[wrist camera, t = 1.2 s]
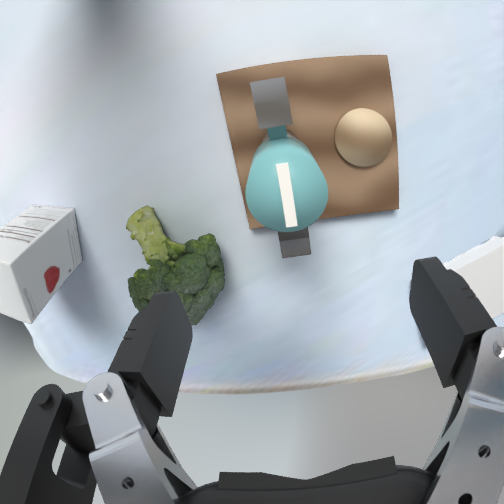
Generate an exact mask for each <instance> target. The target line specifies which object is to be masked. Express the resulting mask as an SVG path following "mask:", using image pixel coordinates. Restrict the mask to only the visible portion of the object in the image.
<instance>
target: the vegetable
mask: <svg viewBox="0 0 504 504" xmlns="http://www.w3.org/2000/svg"><path fill="white" fill-rule="evenodd" d="M153 210H154V208H151V207H149V206H145V207H142V208H141V209H139V210H138V211H136V212H135V213H134V214H133V215H132V216H131V217H130V218H129V220H128V222H127V225H126V229H128V230H129V231H130V232H131V239H133V240H134V239H136V240H137V241H138V242H139V244H140V245H141V247H142V249H143V252H142V254H144V256H145V260H146V261H147V262H148V263H147V264H149V265H150V267H149V269H148V270H145V269H138V270H137V271H136V272H135V274H134V278H133V277H131V278H129V279H128V284H129V287H128V288H129V292H130V297H131V298H132V299H133V300H132V301H133V303H134V306H135V308H137V309H138V310H139V312H140V311H141V310H142V309H143V308H147V306H148V304H149V302H150V300H151V298H152V296H153V294H154V293H159V292H169V291H176V292H177V293H178V294H179V296H180V299H181V301H182V304H183V306H184V309H185V311H186V314H187V316H188V318H189V321H190V323H191V325H196V324H198V323H199V321H200V320H201V319H202V318H203V316H204V315H205V313H206V312H207V310H208V309H209V308H211V307H212V305H213V304H214V301H215V299H216V297H217V295H218V293H219V292H220V291H221V290H223V287H224V282H225V279H224V267H223V263H222V259H221V257H220V248H219V246H218V244H217V243H216V239H215V236H214V235H212V234H210V233H209V234H207V235H204V236H201V237H199V239H198V240H199V241H197V240H193V239H192V240H190V241H188V242H186V243H185V245H184V244H178V243H175V242H172V241H171V240H170V239H169V238H167V237H166V235H165V234H164V233H163V230H162V226H161V224H160V222H159V221H158V219H157V218H156V216H155V214H154V212H153Z"/></svg>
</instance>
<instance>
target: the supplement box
mask: <svg viewBox="0 0 504 504" xmlns="http://www.w3.org/2000/svg"><path fill="white" fill-rule="evenodd" d="M81 262H82V255H81V249H80V244H79V237H78V231H77V224H76V217H75V210H74V208H67V207H55V206H42V205H31V206H30V207H29V208H27V209H26V210H24V211H23V212H22V213H20V214H19V215H17V216H16V217H15V218H13V219H12V220H11V221H9V222H8V223H7V224H5V225H4V226H3V227H1V228H0V313H2V314H5V315H7V316H10V317H13V318H15V319H17V320H20V321H23V322H25V323H29V324H32V323H33V322H34V320H35V319H36V317H37V316H38V315H39V313H40V312H41V311H42V309H43V308H44V307H45V306H46V304H47V303H48V302H49V300H50V299H51V298H52V297H53V295H54V294H55V293H56V292H57V290H58V289H59V288H60V287H61V285H62V284H63V283H64V282H65V281H66V279H67V278H68V277H69V276H70V275H71V273H72V272H73V271H74V270H75V269H76V267H77V266H78V265H79V264H80V263H81Z"/></svg>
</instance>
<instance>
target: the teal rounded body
mask: <svg viewBox="0 0 504 504" xmlns="http://www.w3.org/2000/svg"><path fill="white" fill-rule="evenodd" d="M267 131H268V136H269V139H268V140H266V141H264V142H263V143H262V144H261V145H260V146H259V147H258V148H257V150H256V151H255V154H254V156H253V160H252V164H251V168H250V172H249V176H248V181H247V185H246V191H245V194H246V202H247V206H248V208H249V210H250V212H251V214H252V215H253V216H254V218H255V219H256V220H257V221H258V222H259V223H261V224H262V225H264V226H265V227H267V228H269V229H272V230H275V231H280V232H294V231H298V230H302V229H304V228H306V227H308V226H310V225H311V224H313V223H314V222H315V221H316V220H317V219H318V218H319V217H320V216H321V214H322V213H323V211H324V209H325V207H326V204H327V200H328V186H327V182H326V179H325V177H324V175H323V173H322V171H321V170H320V168H319V166H318V164H317V162H316V161H315V159H314V157H313V155H312V154H311V152H310V150H309V149H308V147H307V146H306V145H305V144H304V143H303V142H301V141H300V140H298V139H296V138H294V137H291V136H287V131H286V126H285V125H284V126H277V127H271V128H267Z"/></svg>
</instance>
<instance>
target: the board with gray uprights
mask: <svg viewBox="0 0 504 504" xmlns="http://www.w3.org/2000/svg"><path fill="white" fill-rule="evenodd" d="M216 76H217V81H218V85H219V90H220V94H221V99H222V103H223V108H224V112H225V117H226V122H227V126H228V131H229V135H230V140H231V144H232V149H233V153H234V158H235V163H236V167H237V172H238V176H239V181H240V185H241V190H242V195H243V199H244V204H245V208H246V213H247V218H248V222H249V227H250V229H253V228H260V227H265V226H264V225H262V224H261V223H259V222H258V221H257V220H256V219H255V218H254V216H253V215H252V214H251V212H250V210H249V208H248V206H247V202H246V194H245V191H246V185H247V181H248V176H249V172H250V168H251V164H252V160H253V156H254V154H255V151H256V150H257V148H258V147H259V146H260V145H261V144H262V143H263V142H264V141H266V140H268V139H269V136H268V131H267V128H271V127H277V126H284V125H285V126H286V131H287V136H291V137H294V138H296V139H298V140H300V141H301V142H303V143H304V144H305V145H306V146H307V147H308V149H309V150H310V152H311V154H312V155H313V157H314V159H315V161H316V162H317V164H318V166H319V168H320V170H321V171H322V173H323V175H324V177H325V179H326V182H327V186H328V200H327V204H326V207H325V209H324V211H323V213H322V214H321V216H320V217H319V218H318V219H324V218H332V217H339V216H347V215H355V214H363V213H371V212H379V211H387V210H395V209H399V174H398V150H397V134H396V121H395V111H394V101H393V93H392V85H391V77H390V71H389V64H388V58H387V55H358V56H337V57H323V58H312V59H302V60H294V61H286V62H279V63H272V64H265V65H259V66H254V67H248V68H243V69H238V70H233V71H228V72H223V73H219V74H216ZM278 235H279V241H280V247H281V253H282V258H288V257H295V256H303V255H310V254H311V250H310V241H309V232H308V227H306V228H304V229H302V230H298V231H294V232H280V231H278Z"/></svg>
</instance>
